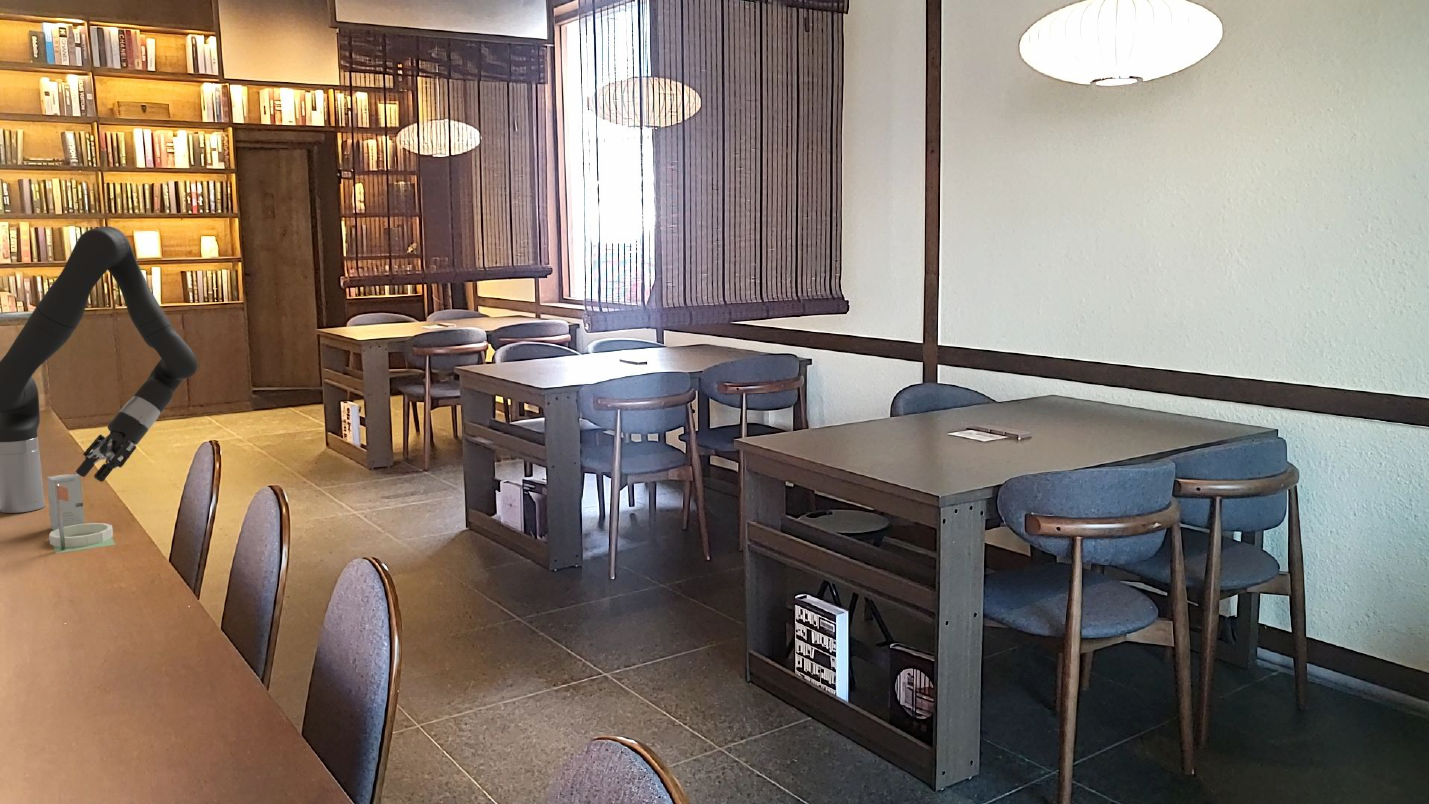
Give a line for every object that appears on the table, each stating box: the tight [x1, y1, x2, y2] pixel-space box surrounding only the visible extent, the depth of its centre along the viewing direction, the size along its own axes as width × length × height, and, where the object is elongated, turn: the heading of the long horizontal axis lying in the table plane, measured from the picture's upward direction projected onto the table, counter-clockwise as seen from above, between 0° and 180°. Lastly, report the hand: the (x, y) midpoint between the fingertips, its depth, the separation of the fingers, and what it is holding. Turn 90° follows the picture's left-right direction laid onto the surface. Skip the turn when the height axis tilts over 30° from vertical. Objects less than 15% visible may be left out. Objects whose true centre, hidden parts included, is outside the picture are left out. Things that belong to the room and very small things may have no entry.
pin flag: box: [54, 484, 69, 550], centre depth 228 cm, size 5×1×14 cm, turn 54°
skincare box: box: [46, 473, 86, 531], centre depth 247 cm, size 6×4×12 cm
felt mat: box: [52, 533, 116, 554], centre depth 238 cm, size 18×11×1 cm, turn 34°
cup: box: [48, 522, 114, 547], centre depth 238 cm, size 12×12×2 cm
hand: (88, 477), depth 251 cm, fingers open, 8 cm apart
